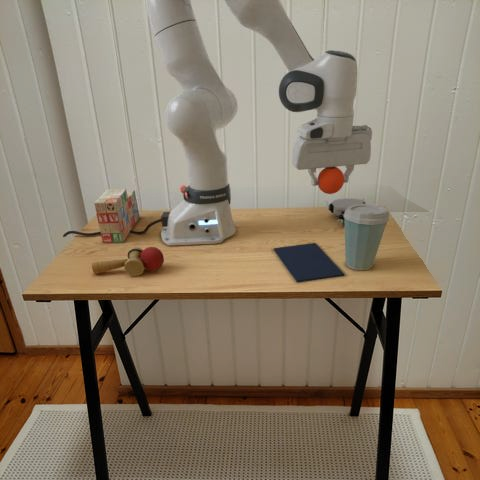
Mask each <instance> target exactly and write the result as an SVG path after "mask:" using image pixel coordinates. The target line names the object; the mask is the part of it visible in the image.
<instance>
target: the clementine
mask: <svg viewBox="0 0 480 480" xmlns="http://www.w3.org/2000/svg"><path fill="white" fill-rule="evenodd" d="M343 174H344V172H343V171H342V170H341V169H340V168H339V167H338V166H337V167H326V168H322V169H321V171H320V172H319V174H318V175H317V178H319V185H317V186H318V188H319V190H320V191H321V192H322V193H323V194H327V195H334V194H336V193H338V192H340V190H341V189H342V188H343V186H344V184H345V183H344V175H343Z"/></svg>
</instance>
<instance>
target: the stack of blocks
mask: <svg viewBox="0 0 480 480" xmlns="http://www.w3.org/2000/svg"><path fill="white" fill-rule="evenodd" d="M94 208H95V212H96V219H97V223H98V226H99V232H100V231H101V234H100V236H101V240H102V241H101V242H102V243H103V244H112V243H115V244H117V243H120V244H121V243H124V242H125V240H126V239H127V237H128V236H129V234H131V233H130V230H132V229H133V228H134V226H135V225H136V224H137V222H138V220H139V218H140V211H139V205H138V200H137V196H136V190H135V189H127V188H115V189H106V190H105V191H104V192H103V193H102V194H101V195H100V196H99V197H98V198H97V199H96V200H95V201H94Z"/></svg>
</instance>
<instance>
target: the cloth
mask: <svg viewBox="0 0 480 480" xmlns="http://www.w3.org/2000/svg"><path fill="white" fill-rule="evenodd" d="M273 251H274V253H276V255H277V256H278V257H279V259H280V261H281V262H282V264H283V265H284V266H285V267H286V269H287V270H288V271H289V273H290V275H291V276H292V277H293V279H294V280H295V281H296V283H301V282H307V281H308V282H309V281H315V280H322V279H330V278H337V277H344V276H345V273H344V272H343V271H342V270H341V269H340V268H339V267H338V266H337V264H336V263H335V262H334V261H333V260H332V259H331V258H330V256H328V255H327V254H326V253H325V251H324V250H322V249H321V247H320V246H319V245H318V244H317V243H316V242H312V243H305V244H296V245H289V246H280V247H274V248H273Z"/></svg>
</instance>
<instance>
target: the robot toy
mask: <svg viewBox="0 0 480 480" xmlns="http://www.w3.org/2000/svg"><path fill="white" fill-rule="evenodd" d="M325 202H326V204H327V210H329V212H330V213H331V214H333V215H334V216H337V217H338V218H337V223H338V224H339V223H340V224H344V223H345V222H344V217H343V216H344V213H345V210H346V209H347V208H348V207H349V206H352V205H358V204H367V203H366V201H365V198H362V199H359V198H350V197H349V198H347V197H346V198H345V197H344V198H337V199H334V200H333V201H331V203H328V200H326V201H325Z"/></svg>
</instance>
